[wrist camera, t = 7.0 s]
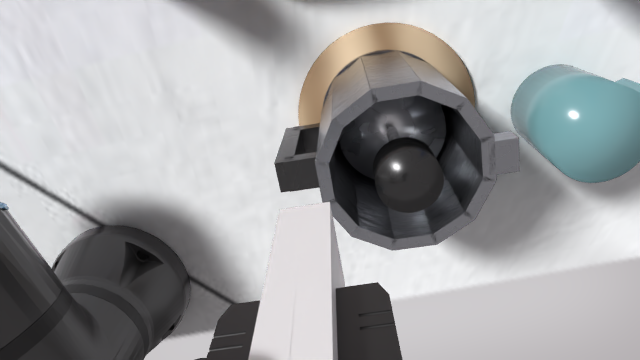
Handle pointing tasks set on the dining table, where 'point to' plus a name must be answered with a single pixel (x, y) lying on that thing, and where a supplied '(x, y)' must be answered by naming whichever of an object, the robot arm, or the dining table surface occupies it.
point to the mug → (580, 121)
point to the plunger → (399, 150)
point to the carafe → (360, 191)
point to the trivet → (373, 40)
